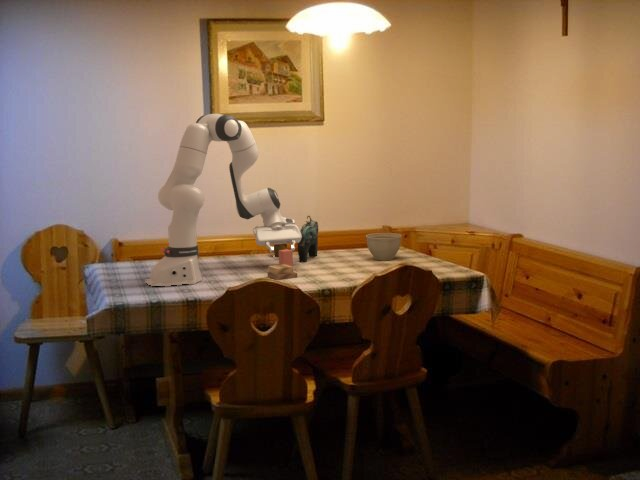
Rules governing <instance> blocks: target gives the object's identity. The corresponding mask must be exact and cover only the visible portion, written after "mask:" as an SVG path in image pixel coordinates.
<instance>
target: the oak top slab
mask: <svg viewBox="0 0 640 480" xmlns="http://www.w3.org/2000/svg"><path fill="white" fill-rule="evenodd" d="M267 268H268V271H267V272H270V273H273V274H276V275H281V274H288V273H293V272H294V266H293V267H292V266H289V265H286V264H282V265H279V264H275V265H268V267H267Z"/></svg>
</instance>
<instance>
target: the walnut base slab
mask: <svg viewBox="0 0 640 480" xmlns="http://www.w3.org/2000/svg"><path fill="white" fill-rule="evenodd" d="M267 277H268V278H270V279H273V278H274V279H273V280H277V281H280V280H281V281H282V280H288V279H296V278H298V272H296V271H293V273H288V274H281V275H276V274H273V273H270V272H269V271H267Z"/></svg>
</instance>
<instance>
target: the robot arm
mask: <svg viewBox="0 0 640 480" xmlns="http://www.w3.org/2000/svg"><path fill="white" fill-rule="evenodd" d="M212 141H214V142H226V143H227V145H228V147H229V149H230V153H231V156H232V160H231V162H230V163H229V164H228V165H229V166H228V168H229V173H230V181H231V185H232V189H233V194H234V198H235V210H236V212H237V215H238V217H240V218H241V219H244V220H250V219H253V218H254V217H257V216H259V215H260V216H261V219H262V223H263V225H261V226H255V227H253V228H252V233H253V235H254V239H255V244H256V245H257V246H259V247H261V246H265V248H266V249H267V250H269V253H274V245H275V244H287V245H288V244H290V247H289V250H292V251H293V252H294V251H295V249H296V247H295V244H298V243H299V242H300V241H301V238H302V235H301V232H300V230H301V229H300V228H299V226H298V225H297V224H296V220H295V219H294V218H288V217H284V216H283V215H282V214H281V209H280V208H281V202H280V200H279V196H278V193H277V192H276V190H275V189H272V188H270V187H265V188H263V189H260V190H257V191H255V192H252V193H250V194H247V195H246V194H244V190H243V185H242V180H241V179H242V177H243V175H244V173H246V172H247V171H248V170H249V169H250V168H251V167H253V165H255V163H256V162H257V161H258V158H259V154H260V152H259V147H258V145H257V142H256V140H255V137H254V135H253V133H252V131H251V129H250V128H249V126H248V124H247V123H246V122H245V121H243V120H239V119H237V118H236V117H234V116H232V115H230V114H223V113H222V114H220V113H206V114H203V115H201V116H199V118H198V119H196V121H195V123H194V122H193V123H190V124H189V125H187V127H186V129H185V131H184V132H183V135H182V138H181V140H180V143H179V148H178V151H177V154H176V159H175V162H174V165H173V167H172V169H171V172H170V174H169V176H168V178H167V179H166V182H165V183H164V185H163V186H162V187H161V188H160V189H159V191H158V194H157V199H158V202H159V204H160V205H161V206H163V207H164V208H166V209H168V210H169V211H172V216H171V221H170V222H169V223H170V224H168V228H167V232H168V233H167V234H168V236H167V237H168V247H166V248H165V247H163V246H162V247H161V248H160V252H161V253H162V254H164V257H162V258H161V259H160V260H159V261H158V262H157V263H155V264H154V265H153V266H152V267H151V271H150V278H148V279H145V281H144V284H146V283H147V284H148V285H147V284H146V285H147V286H149V285H151V286H150V287H152V286H165V287H172V286H171V285H177V286H183V285H182V284H189V285H195V284H196V283H198V282H201V281H203V277H202V274H201V273H202V272H201V270H200V265H199V255H200V254H199V253H200V252H199V245H198V243H197V242H198V240H197V224H198V223H197V222H198V218H199V214H200V211H201V209H202V207H203V205H204V204H205V195H204V192H203V191H202V189H200V188H198V187H196V186H194V184H195V183H196V181H197V179H198V178H199V177H200V175H202V173H203V170H204V166H205V162H206V158H207V154H208V151H209V150H208V149H209V146H210V144H211V142H212Z"/></svg>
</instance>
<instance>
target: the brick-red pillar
mask: <svg viewBox="0 0 640 480" xmlns="http://www.w3.org/2000/svg"><path fill="white" fill-rule="evenodd" d="M293 254H294V251H292V250H291V249H289V248H287V249H286V250H279V258H278V265H282V264H286V265H289V266H292V267H293V268H294V256H293Z"/></svg>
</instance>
